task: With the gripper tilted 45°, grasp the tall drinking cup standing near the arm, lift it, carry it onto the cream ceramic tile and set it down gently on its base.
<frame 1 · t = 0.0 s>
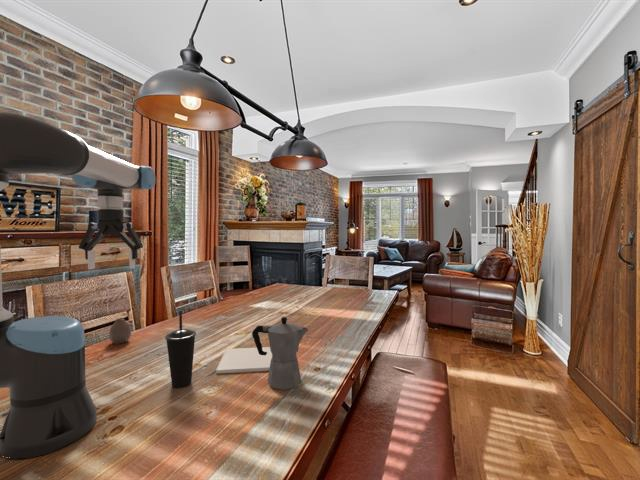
hand: (112, 268, 110), 28 cm above the table, tool pointing down, fingers open, 13 cm apart
coffeepot: (280, 382, 85), on the table
grey rounded lump: (120, 342, 114), on the table
drinking cup: (181, 384, 83), on the table
tile: (247, 360, 98), on the table
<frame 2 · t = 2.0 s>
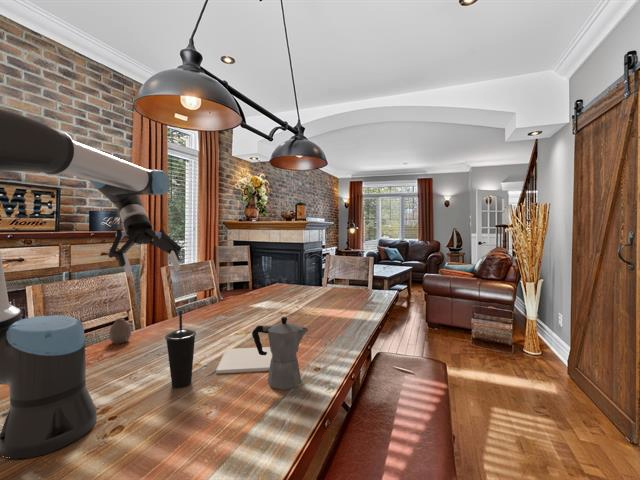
hand: (155, 271, 92), 30 cm above the table, tool tilted 45°, fingers open, 13 cm apart
nothing on the table moved.
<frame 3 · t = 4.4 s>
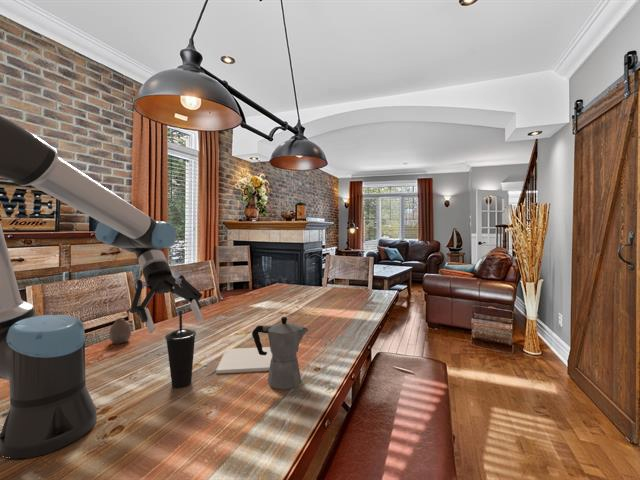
hand: (177, 325, 88), 15 cm above the table, tool tilted 45°, fingers open, 13 cm apart
nothing on the table moved.
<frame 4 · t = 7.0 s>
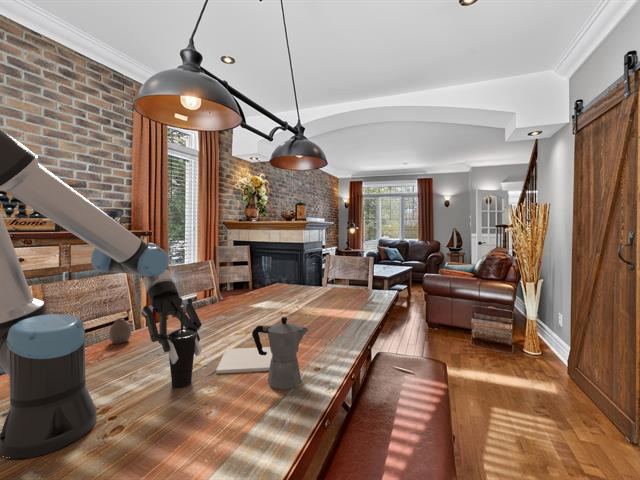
hand: (187, 357, 81), 8 cm above the table, tool tilted 45°, fingers closed on drinking cup, 6 cm apart
drinking cup: (181, 384, 83), on the table, touching gripper
everything else where it was.
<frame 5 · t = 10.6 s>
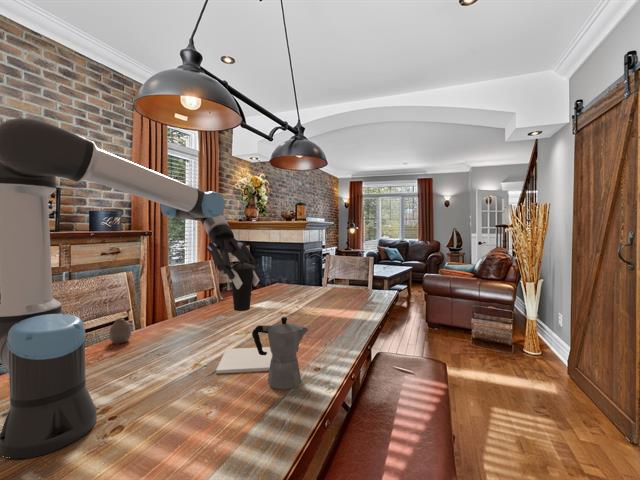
hand: (248, 284, 94), 25 cm above the table, tool tilted 45°, fingers closed on drinking cup, 6 cm apart
drinking cup: (241, 309, 97), point 17 cm above the table, touching gripper
everything else where it was.
when the fingers open (11 cm above the table, at t = 14.4 s): drinking cup drops 1 cm, resting on tile.
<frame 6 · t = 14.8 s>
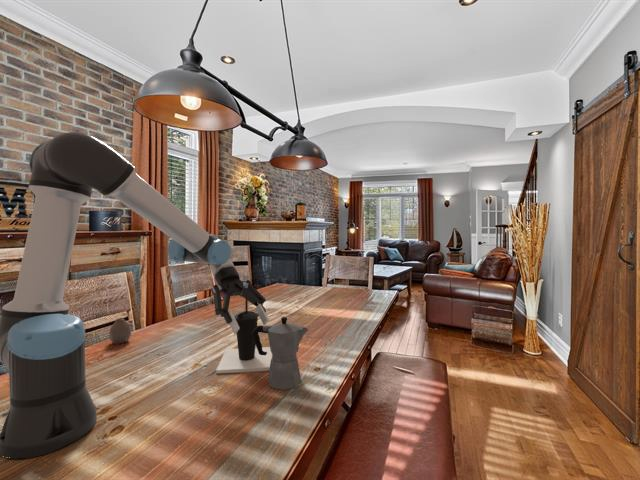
hand: (252, 326, 96), 12 cm above the table, tool tilted 45°, fingers open, 10 cm apart
drinking cup: (246, 358, 98), point 1 cm above the table, touching tile
everything else where it was.
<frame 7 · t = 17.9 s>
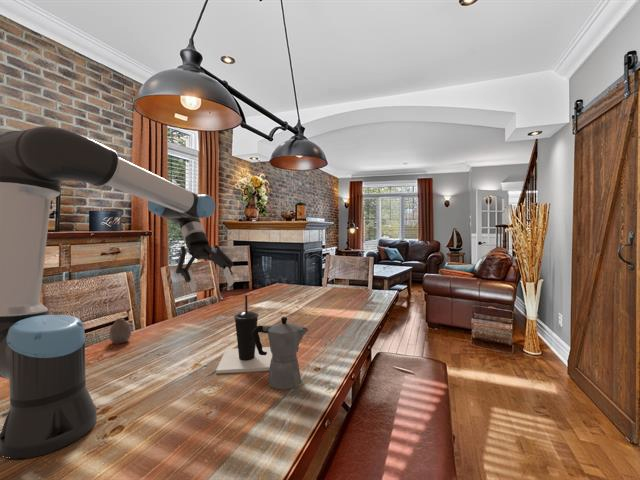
hand: (214, 286, 103), 23 cm above the table, tool tilted 40°, fingers open, 13 cm apart
nothing on the table moved.
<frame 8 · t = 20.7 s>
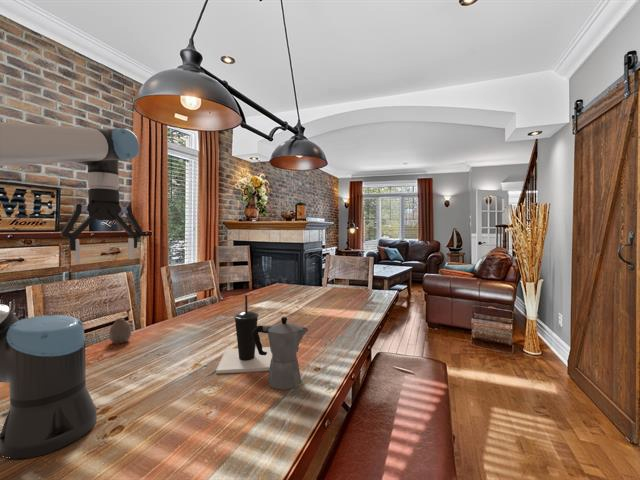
hand: (105, 260, 91), 33 cm above the table, tool pointing down, fingers open, 13 cm apart
nothing on the table moved.
at the end: drinking cup inside the target area on the tile (0.2 cm from its centre), point 0.8 cm above the tile's base; drinking cup tilted 0°; the gripper is holding nothing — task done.
